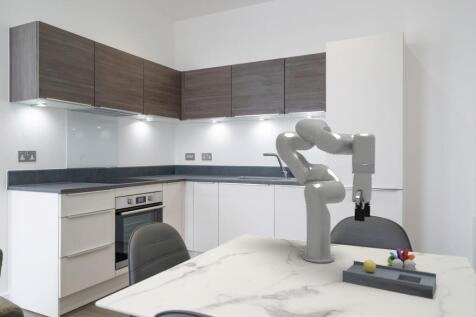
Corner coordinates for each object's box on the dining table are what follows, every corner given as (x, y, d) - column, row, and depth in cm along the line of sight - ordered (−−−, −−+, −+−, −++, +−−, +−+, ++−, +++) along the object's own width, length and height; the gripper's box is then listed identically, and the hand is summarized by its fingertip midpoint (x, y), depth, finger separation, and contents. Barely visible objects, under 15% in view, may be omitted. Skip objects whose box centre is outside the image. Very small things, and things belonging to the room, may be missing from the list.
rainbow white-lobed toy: (418, 272, 124) (418, 252, 124) (390, 270, 126) (390, 250, 126) (411, 265, 132) (411, 246, 132) (385, 264, 134) (385, 245, 134)
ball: (362, 272, 116) (362, 260, 116) (364, 269, 119) (364, 257, 119) (374, 274, 113) (374, 262, 113) (377, 271, 117) (377, 259, 117)
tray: (342, 281, 114) (342, 270, 114) (354, 270, 126) (354, 260, 126) (432, 298, 100) (432, 286, 100) (436, 284, 111) (436, 273, 112)
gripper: (357, 168, 129) (356, 214, 129) (346, 169, 114) (345, 221, 114) (378, 169, 125) (378, 216, 125) (370, 170, 110) (369, 224, 110)
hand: (362, 218), depth 120 cm, fingers open, 9 cm apart
